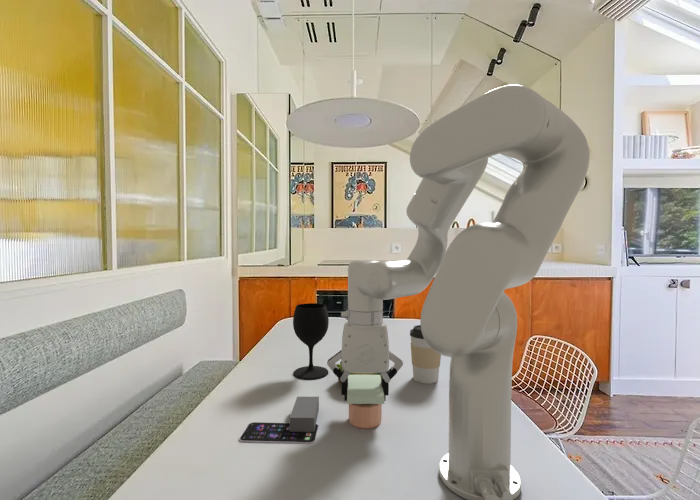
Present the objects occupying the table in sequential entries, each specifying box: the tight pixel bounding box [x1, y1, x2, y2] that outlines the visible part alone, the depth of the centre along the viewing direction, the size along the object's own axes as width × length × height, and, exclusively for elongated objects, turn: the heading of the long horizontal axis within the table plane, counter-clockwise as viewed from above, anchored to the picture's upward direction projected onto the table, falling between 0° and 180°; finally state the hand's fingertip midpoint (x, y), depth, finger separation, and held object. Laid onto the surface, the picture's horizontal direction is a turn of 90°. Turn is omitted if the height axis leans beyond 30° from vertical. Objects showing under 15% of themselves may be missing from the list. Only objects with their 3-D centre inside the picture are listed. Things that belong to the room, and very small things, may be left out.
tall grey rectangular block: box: [289, 396, 320, 432], centre depth 78 cm, size 10×5×3 cm, turn 179°
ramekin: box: [348, 404, 383, 430], centre depth 78 cm, size 7×7×4 cm
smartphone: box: [239, 421, 320, 445], centre depth 73 cm, size 8×1×15 cm
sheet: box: [346, 375, 386, 405], centre depth 78 cm, size 12×8×1 cm, turn 0°
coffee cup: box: [409, 324, 442, 384], centre depth 102 cm, size 9×9×15 cm
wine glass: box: [292, 302, 330, 381], centre depth 106 cm, size 10×10×20 cm
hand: (364, 397), depth 78 cm, fingers closed on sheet, 7 cm apart
